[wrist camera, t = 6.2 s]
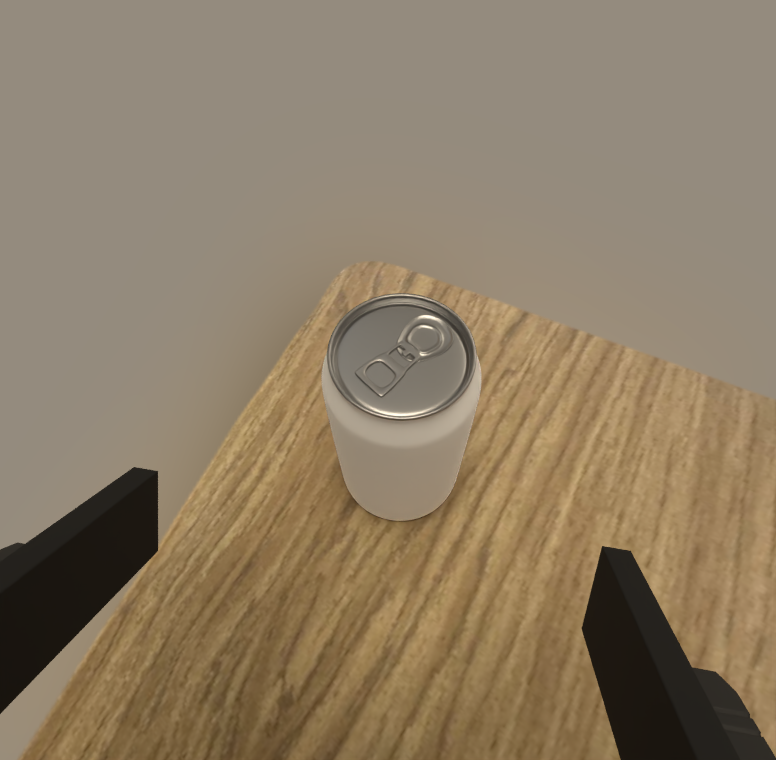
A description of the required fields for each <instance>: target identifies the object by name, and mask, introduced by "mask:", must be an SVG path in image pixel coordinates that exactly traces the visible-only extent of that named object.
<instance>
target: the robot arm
mask: <svg viewBox="0 0 776 760" xmlns="http://www.w3.org/2000/svg"><path fill="white" fill-rule="evenodd" d="M157 551H158V471H153V470H147V469H142V468H136V467H134V468H132V469H131V470H130V471H128V472H127V473H125V474H124V475H122V476H121V477H120V478H118V479H117V480H115V481H114V482H112V483H111V484H110V485H108V486H107V487H105V488H104V489H102V490H101V491H100V492H98V493H97V494H95V495H94V496H93V497H91V498H90V499H88V500H87V501H85V502H84V503H83V504H81V505H80V506H78V507H77V508H75V510H73V511H71V512H70V513H68V514H67V515H66V516H64V517H63V518H61V519H60V520H58V521H57V522H56V523H54V524H53V525H51V526H50V527H49V528H47V529H46V530H44V531H43V532H41V533H40V534H39V535H37V536H36V537H34V538H33V539H32V540H30V541H29V542H27V543H26V544H22V543H16V544H13V545H10V546H8V547H6V548H3V549H1V550H0V714H1V713H2V711H3V710H4V709H5V708H6V707H7V706H8V705H9V704H10V703H11V702H12V701H13V700H14V699H15V698H16V697H17V696H18V695H19V694H20V693H21V692H22V691H23V690H24V689H25V688H26V687H27V686H28V685H29V684H30V683H31V681H32V680H33V679H34V678H35V677H36V676H37V675H38V674H39V673H40V672H41V671H42V670H43V669H44V668H45V667H46V666H47V665H48V664H49V663H50V662H51V661H52V660H53V659H54V658H55V657H56V656H57V655H58V653H60V651H62V649H63V648H64V647H65V646H66V645H67V644H68V643H69V642H70V641H71V640H72V639H73V638H74V637H75V636H76V635H77V634H78V633H79V632H80V631H81V630H82V629H83V628H84V627H85V626H86V625H87V624H88V623H89V622H90V620H92V618H93V617H94V616H95V615H96V614H97V613H98V612H99V611H100V610H101V609H102V608H103V607H104V606H105V605H106V604H107V603H108V602H109V601H110V600H111V599H112V598H113V597H114V596H115V594H117V593H118V592H119V591H120V590H121V588H122V587H123V586H124V585H125V584H126V583H127V582H128V581H129V580H130V579H131V578H132V577H133V576H134V575H135V574H136V573H137V572H138V571H139V570H140V569H141V568H142V567H143V566H144V565H145V564H146V563H147V562H148V561H149V560H150V559H151V558H152V556H153V555H154V554H155V553H156V552H157ZM582 631H583V635H584V638H585V641H586V645H587V648H588V651H589V655H590V658H591V661H592V665H593V668H594V671H595V675H596V678H597V681H598V685H599V688H600V691H601V695H602V698H603V701H604V705H605V708H606V712H607V715H608V718H609V722H610V725H611V728H612V732H613V735H614V738H615V742H616V745H617V748H618V752H619V755H620V758H621V760H776V757H775V756H774V754H773V752H772V751H771V749H770V747H769V746H768V744H767V742H766V741H765V739H764V737H761V732H760V731H759V729H758V727H757V726H756V724H755V722H754V721H753V719H751V718H750V714H749V712H748V710H747V709H746V707H745V705H744V704H743V702H742V700H741V699H740V697H739V695H738V694H737V692H736V691H735V690H734V689H733V688H732V687H731V686H730V685H729V684H728V683H727V682H726V681H725V680H724V679H723V678H722V677H720V676H719V675H718V674H717V673H716V672H714V671H708V670H703V669H698V668H692V667H691V665H690V663H689V661H688V659H687V657H686V655H685V653H684V652H683V650H682V648H681V646H680V644H679V642H678V640H677V638H676V636H675V634H674V633H673V631H672V629H671V627H670V625H669V623H668V621H667V619H666V617H665V615H664V614H663V612H662V610H661V608H660V606H659V604H658V602H657V600H656V598H655V596H654V595H653V593H652V591H651V589H650V587H649V585H648V583H647V581H646V579H645V578H644V576H643V574H642V572H641V570H640V568H639V566H638V564H637V562H636V560H635V559H634V557H633V555H632V553H631V551H628V550H622V549H616V548H610V547H604V546H602V549H601V553H600V557H599V561H598V565H597V569H596V573H595V577H594V581H593V585H592V589H591V593H590V597H589V601H588V606H587V610H586V614H585V618H584V622H583V626H582Z"/></svg>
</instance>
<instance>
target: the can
mask: <svg viewBox="0 0 776 760" xmlns="http://www.w3.org/2000/svg"><path fill="white" fill-rule="evenodd" d="M322 390H323V396H324V401H325V405H326V410H327V414H328V418H329V422H330V426H331V430H332V434H333V439H334V443H335V447H336V451H337V455H338V459H339V462H340V466H341V470H342V474H343V477H344V480H345V483H346V486H347V488H348V490H349V492H350V494H351V495H352V497H353V498H354V499H355V501H356V502H357V503H358V504H359V505H360V506H361V507H363V508H364V509H365V510H367V511H368V512H370V513H371V514H373V515H375V516H378V517H380V518H384V519H387V520H393V521H407V520H413V519H417V518H420V517H423V516H425V515H427V514H429V513H431V512H433V511H434V510H435V509H437V508H438V507H439V506H440V505H441V504H442V503H443V502H444V501H445V500H446V499H447V497H448V496H449V494H450V493H451V491H452V489H453V487H454V484H455V482H456V479H457V476H458V472H459V469H460V466H461V462H462V459H463V455H464V452H465V448H466V445H467V441H468V438H469V434H470V430H471V427H472V423H473V420H474V416H475V412H476V408H477V404H478V400H479V396H480V391H481V368H480V363H479V360H478V357H477V354H476V346H475V342H474V339H473V336H472V334H471V332H470V330H469V328H468V327H467V325H466V324H465V323H464V321H463V320H462V319H461V318H460V317H459V316H458V315H457V314H456V313H455V312H454V311H453V310H451V309H450V308H449V307H447V306H445V305H444V304H442V303H440V302H438V301H436V300H433V299H431V298H428V297H424V296H420V295H415V294H405V293H398V294H388V295H383V296H379V297H375V298H372V299H370V300H367V301H365V302H363V303H361V304H359V305H358V306H356V307H355V308H353V309H352V310H351V311H349V312H348V313H347V314H346V315H345V316H344V317H343V318H342V319H341V320H340V322H339V323H338V324H337V326H336V327H335V329H334V331H333V333H332V335H331V338H330V341H329V344H328V350H327V354H326V356H325V359H324V363H323V368H322Z"/></svg>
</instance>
